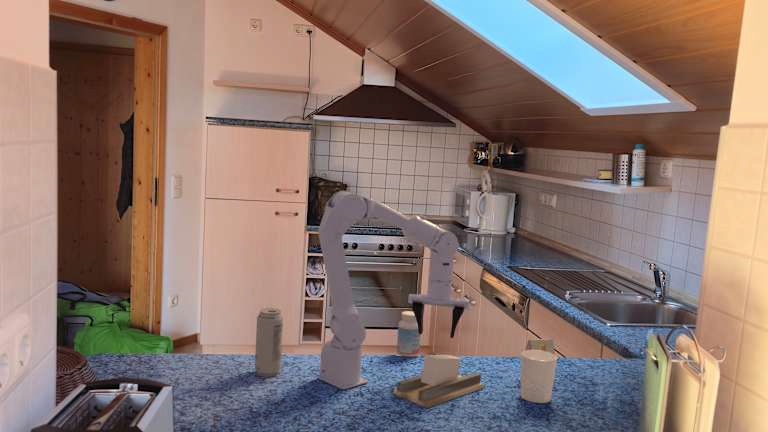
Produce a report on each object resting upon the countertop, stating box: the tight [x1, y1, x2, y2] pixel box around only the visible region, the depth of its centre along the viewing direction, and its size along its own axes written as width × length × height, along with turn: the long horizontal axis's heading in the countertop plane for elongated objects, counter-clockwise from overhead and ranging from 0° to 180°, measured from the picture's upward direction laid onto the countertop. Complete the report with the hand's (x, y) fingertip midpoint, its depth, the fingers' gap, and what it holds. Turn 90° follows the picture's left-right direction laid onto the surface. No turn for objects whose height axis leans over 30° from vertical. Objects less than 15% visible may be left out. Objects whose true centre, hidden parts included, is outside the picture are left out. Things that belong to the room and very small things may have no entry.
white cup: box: [520, 350, 558, 404], centre depth 148 cm, size 8×8×10 cm
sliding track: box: [393, 372, 484, 409], centre depth 149 cm, size 10×20×3 cm, turn 135°
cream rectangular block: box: [421, 354, 462, 386], centre depth 148 cm, size 4×10×6 cm, turn 142°
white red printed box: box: [524, 338, 556, 355], centre depth 161 cm, size 4×7×10 cm, turn 107°
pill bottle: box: [396, 310, 421, 358], centre depth 174 cm, size 6×6×11 cm
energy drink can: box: [254, 307, 284, 377], centre depth 153 cm, size 6×6×15 cm
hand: (436, 335), depth 157 cm, fingers open, 7 cm apart
